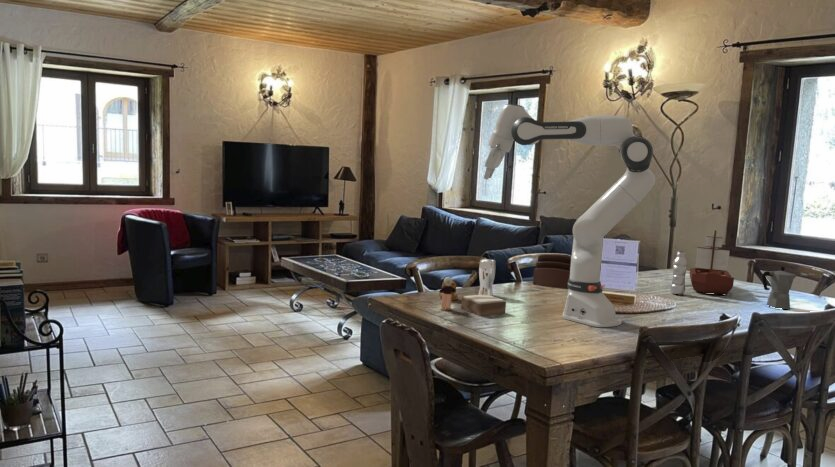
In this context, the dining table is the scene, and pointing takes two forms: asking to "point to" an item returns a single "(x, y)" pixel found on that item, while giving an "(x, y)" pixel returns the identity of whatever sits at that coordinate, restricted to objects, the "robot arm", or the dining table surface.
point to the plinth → (483, 305)
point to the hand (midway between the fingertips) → (487, 178)
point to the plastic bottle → (679, 273)
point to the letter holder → (552, 271)
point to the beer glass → (486, 276)
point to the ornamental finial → (451, 292)
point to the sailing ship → (712, 268)
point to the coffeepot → (779, 288)
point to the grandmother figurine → (447, 294)
